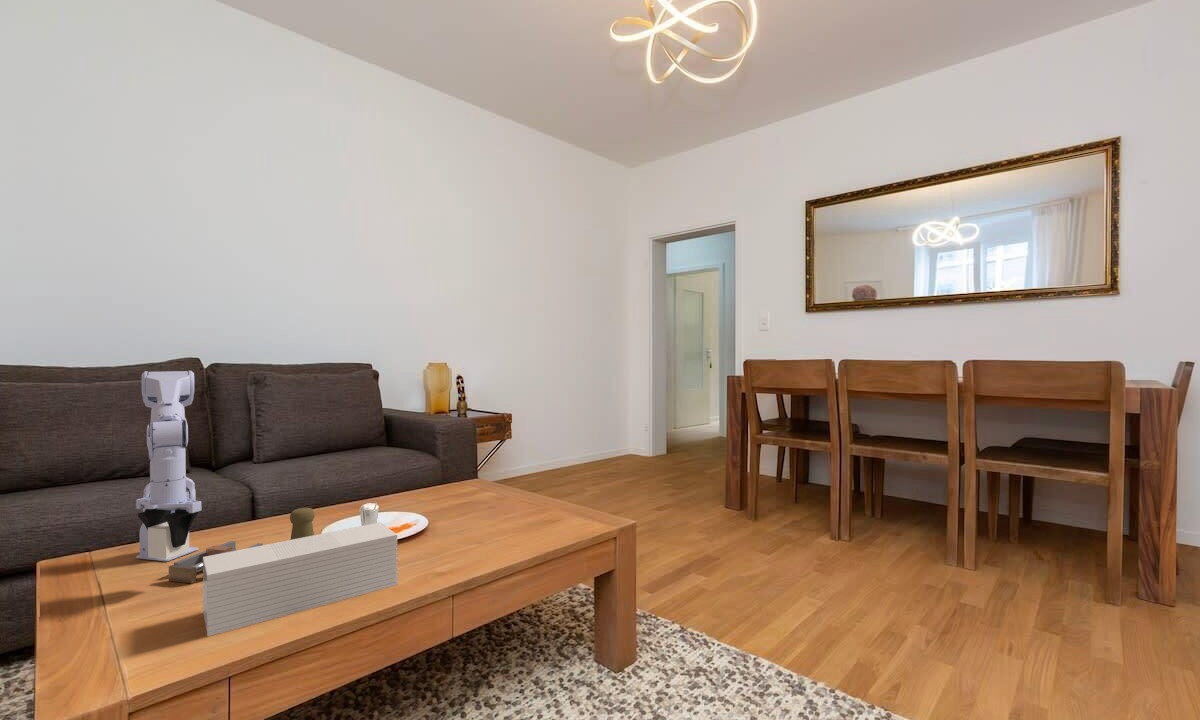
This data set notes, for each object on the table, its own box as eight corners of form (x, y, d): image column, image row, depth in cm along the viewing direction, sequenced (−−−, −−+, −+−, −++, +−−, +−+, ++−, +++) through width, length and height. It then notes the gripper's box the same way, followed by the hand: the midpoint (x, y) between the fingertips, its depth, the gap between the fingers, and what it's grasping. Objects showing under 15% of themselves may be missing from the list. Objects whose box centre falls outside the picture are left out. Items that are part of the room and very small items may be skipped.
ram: (168, 580, 113) (168, 561, 113) (212, 562, 123) (212, 545, 123) (191, 583, 112) (191, 564, 112) (234, 564, 122) (233, 547, 122)
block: (148, 557, 109) (147, 527, 109) (170, 549, 113) (170, 520, 113) (166, 559, 108) (165, 529, 108) (188, 551, 112) (188, 522, 112)
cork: (304, 560, 125) (303, 513, 125) (282, 558, 126) (281, 511, 126) (322, 550, 131) (322, 506, 131) (301, 549, 132) (300, 504, 132)
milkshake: (368, 543, 136) (368, 504, 136) (356, 539, 139) (355, 501, 139) (384, 538, 140) (384, 500, 140) (371, 534, 143) (371, 497, 143)
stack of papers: (381, 570, 120) (380, 522, 120) (397, 586, 112) (397, 534, 112) (203, 614, 100) (202, 556, 99) (207, 638, 91) (206, 575, 91)
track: (173, 576, 116) (173, 562, 116) (231, 553, 130) (231, 540, 130) (207, 580, 114) (207, 566, 114) (262, 556, 128) (262, 543, 128)
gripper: (119, 481, 108) (120, 548, 108) (177, 485, 105) (177, 554, 105) (155, 474, 115) (156, 537, 115) (210, 477, 112) (211, 542, 112)
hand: (169, 544), depth 111 cm, fingers closed on block, 5 cm apart
